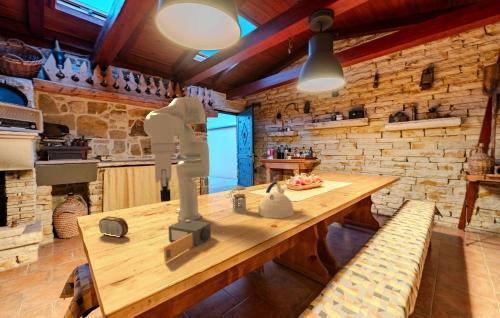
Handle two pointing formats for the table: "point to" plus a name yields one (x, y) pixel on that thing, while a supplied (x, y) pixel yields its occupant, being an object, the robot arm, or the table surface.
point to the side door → (178, 247)
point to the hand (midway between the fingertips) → (165, 200)
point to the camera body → (190, 231)
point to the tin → (113, 226)
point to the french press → (239, 200)
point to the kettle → (275, 204)
